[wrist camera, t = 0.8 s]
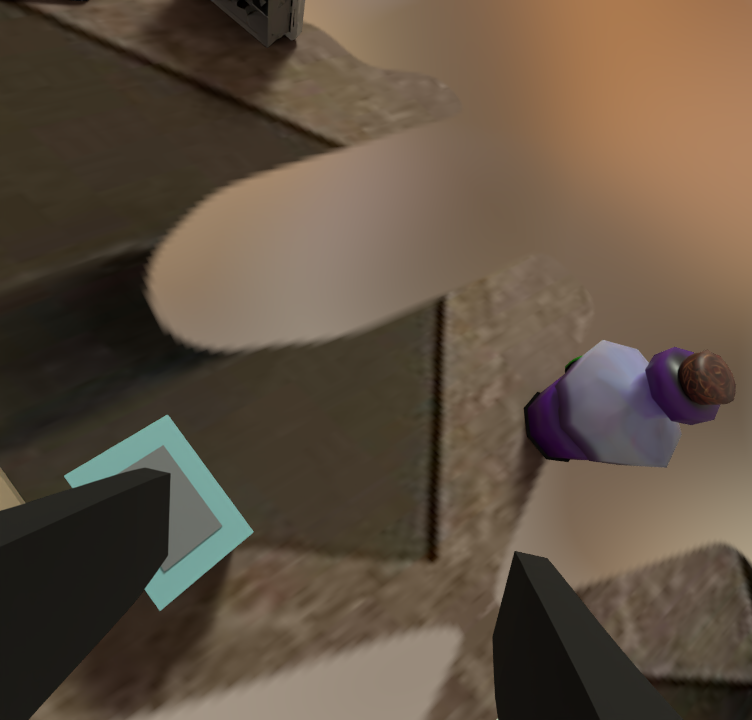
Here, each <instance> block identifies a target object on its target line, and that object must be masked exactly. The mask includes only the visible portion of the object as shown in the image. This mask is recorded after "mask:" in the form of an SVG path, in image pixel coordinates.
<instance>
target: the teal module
mask: <svg viewBox="0 0 752 720" xmlns="http://www.w3.org/2000/svg"><path fill="white" fill-rule="evenodd" d="M144 467H145V468H150V469H154V470H158V471H163V472H167V473H171V480H170V512H169V544H168V557H167V558H166V559H165V561H164V562H163V564H162V565H161V567H160V568H159V570H158V571H157V572H156V574H155V575H154V577H153V578H152V580H151V581H150V582H149V584H148V585H147V586H146V588H145V591H146V592H147V594H148V595H149V596H150V598H151V599H152V601H153V602H154V603H155V605H156V606H157V608H158V609H159V610H160V611H161V610H162V609H163V608H164V607H165V606H167V605H168V604H169V603H170V602H171V601H173V600H174V599H175V598H176V597H177V596H178V595H180V594H181V593H182V592H183V591H184V590H186V589H187V588H188V587H189V586H190V585H192V584H193V583H194V582H195V581H196V580H197V579H199V578H200V577H201V576H202V575H203V574H205V573H206V572H207V571H208V570H209V569H210V568H212V567H213V566H214V565H215V564H216V563H218V562H219V561H220V560H221V559H222V558H223V557H225V556H226V555H227V554H228V553H229V552H231V551H232V550H233V549H234V548H235V547H236V546H238V545H239V544H240V543H241V542H242V541H244V540H245V539H246V538H247V537H248V536H250V535H251V534H252V533H253V530H252V529H251V528H250V526H249V525H248V524H247V522H246V521H245V520H244V518H243V517H242V515H241V514H240V513H239V511H238V510H237V509H236V507H235V506H234V505H233V503H232V502H231V500H230V499H229V498H228V496H227V495H226V494H225V492H224V491H223V489H222V488H221V487H220V485H219V484H218V483H217V481H216V480H215V479H214V477H213V476H212V474H211V473H210V472H209V470H208V469H207V468H206V466H205V465H204V464H203V462H202V461H201V459H200V458H199V457H198V455H197V454H196V453H195V451H194V450H193V449H192V447H191V446H190V444H189V443H188V442H187V440H186V439H185V438H184V436H183V435H182V433H181V432H180V431H179V429H178V428H177V427H176V425H175V424H174V423H173V421H172V420H171V418H170V417H169V416H168V415H166V416H164V417H163V418H161V419H159V420H158V421H156V422H154V423H152V424H151V425H149V426H147V427H146V428H144V429H142V430H141V431H139V432H137V433H136V434H134V435H132V436H131V437H129V438H127V439H125V440H124V441H122V442H120V443H119V444H117V445H115V446H114V447H112V448H110V449H109V450H107V451H105V452H104V453H102V454H100V455H98V456H97V457H95V458H93V459H92V460H90V461H88V462H87V463H85V464H83V465H82V466H80V467H78V468H77V469H75V470H73V471H71V472H70V473H68V474H66V475H65V476H64V477H65V478H66V480H67V481H68V482H69V484H70V485H71V487H72V488H75V487H78V486H81V485H84V484H88V483H91V482H94V481H97V480H100V479H103V478H107V477H110V476H113V475H117V474H120V473H124V472H127V471H131V470H135V469H140V468H144Z"/></svg>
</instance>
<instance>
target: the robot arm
mask: <svg viewBox="0 0 752 720" xmlns="http://www.w3.org/2000/svg"><path fill="white" fill-rule="evenodd" d="M170 480H171V473H167V472H163V471H158V470H154V469H150V468H145V467H144V468H140V469H135V470H131V471H127V472H124V473H120V474H117V475H113V476H110V477H107V478H103V479H100V480H97V481H94V482H91V483H88V484H84V485H81V486H78V487H75V488H72V489H69V490H66V491H62V492H59V493H56V494H53V495H50V496H47V497H44V498H40V499H37V500H34V501H31V502H28V503H25V504H21V505H18V506H15V507H11V508H8V509H4V510H1V511H0V720H29V719H30V717H31V716H32V715H33V714H34V713H35V712H36V711H37V710H38V709H39V707H40V706H41V705H42V704H43V703H44V702H45V701H46V700H47V699H48V698H49V696H50V695H51V694H52V693H53V692H54V691H55V690H56V689H57V688H58V687H59V685H60V684H61V683H62V682H63V681H64V680H65V679H66V678H67V677H68V676H69V674H70V673H71V672H72V671H73V670H74V669H75V668H76V667H77V666H78V665H79V664H80V662H81V661H82V660H83V659H84V658H85V657H86V656H87V655H88V654H89V653H90V651H91V650H92V649H93V648H94V647H95V646H96V645H97V644H98V643H99V642H100V640H101V639H102V638H103V637H104V636H105V635H106V634H107V633H108V632H109V630H110V629H111V628H112V627H113V626H114V625H115V624H116V623H117V622H118V620H119V619H120V618H121V617H122V616H123V615H124V614H125V613H126V612H127V610H128V609H129V608H130V607H131V606H132V605H133V604H134V602H135V601H136V600H137V599H138V597H139V596H140V595H141V593H142V592H143V591H144V589H145V588H146V586H147V585H148V584H149V582H150V581H151V580H152V578H153V577H154V575H155V574H156V572H157V571H158V570H159V568H160V567H161V565H162V564H163V562H164V561H165V559H166V558H167V557H168V544H169V512H170ZM493 665H494V685H495V700H496V707H497V714H498V720H683V719H682V718H681V717H680V716H679V714H678V713H677V712H676V711H675V710H674V709H673V708H672V707H671V706H670V705H669V703H668V702H667V701H666V700H665V699H664V698H663V697H662V696H661V695H660V694H659V692H658V691H657V690H656V689H655V688H654V687H653V686H652V685H651V683H650V682H649V681H648V680H647V679H646V678H645V677H644V675H643V674H642V673H641V672H640V671H639V670H638V668H637V667H636V666H635V665H634V664H633V663H632V662H631V660H630V659H629V658H628V657H627V656H626V654H625V653H624V652H623V651H622V650H621V649H620V647H619V646H618V645H617V644H616V642H615V641H614V640H613V639H612V638H611V636H610V635H609V634H608V633H607V632H606V630H605V629H604V628H603V627H602V625H601V624H600V623H599V622H598V621H597V619H596V618H595V617H594V616H593V614H592V613H591V612H590V611H589V609H588V608H587V607H586V606H585V604H584V603H583V602H582V601H581V599H580V598H579V597H578V596H577V594H576V593H575V592H574V590H573V589H572V588H571V587H570V585H569V584H568V583H567V582H566V581H565V579H564V578H563V577H562V575H561V574H560V573H559V572H558V571H557V569H556V568H555V567H554V566H553V564H552V563H551V562H550V561H549V560H548V559H547V558H544V557H539V556H535V555H531V554H526V553H522V552H517V551H515V552H514V556H513V560H512V563H511V567H510V571H509V575H508V579H507V583H506V587H505V591H504V595H503V598H502V602H501V606H500V610H499V614H498V618H497V622H496V626H495V629H494V633H493Z"/></svg>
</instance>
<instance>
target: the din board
mask: <svg viewBox="0 0 752 720" xmlns="http://www.w3.org/2000/svg"><path fill="white" fill-rule="evenodd" d="M21 504H25V502H24V500H23V499H22V498H21V496H20V495H19V493H18V492H17V490H16V489H15V488H14V486H13V485H12V483H11V482H10V480H9V479H8V478H7V476H6V475H5V473H4V472H3V470H2V469H1V468H0V511H1V510H4V509H8V508H11V507H15V506H18V505H21Z"/></svg>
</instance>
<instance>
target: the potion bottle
mask: <svg viewBox="0 0 752 720" xmlns="http://www.w3.org/2000/svg"><path fill="white" fill-rule="evenodd" d="M735 388H736V384H735V381H734V377H733V374H732V372H731V370H730V369H729V367H728V366H727V364H726V363H725V362H724V360H723V359H722V358H721V357H720V356H719V355H716V354H714V353H712V352H710V351H709V350H705V351H702V352H699V353H694V352H690V351H687V350H683V349H680V348H677V347H674V348H671V349H668V350H666V351H663V352H661V353H658V354H656V355H654V356H653V358H652V359H651V361H650V363H648V361H647V360H646V359H645V358H644V357H643V355H642V354H641V353H640V352H639V351H638V349H634V348H630V347H627V346H623V345H619V344H616V343H612V342H608V341H605V340H602V341H601V342H599V343H598V344H597V345H596V346H594V347H593V348H592V349H591V350H589V351H588V352H587V353H586V354H584V355H583V356H580V357H577V358H575V359H573V360H572V361H570V362H569V363H568V364H567V365H566V366H565V374H564V375H563V376H562V377H560V378H559V379H558V380H557V381H555V382H554V383H553V384H552V385H550V386H549V387H548V388H546V389H545V390H544V391H543V392H541V393H539V392H537V393H536V394H535V395H534V397H533V398H532V399H531V400H530V401H529V403H528V404H527V405H526V406H525V407H524V413H525V421H526V430H527V436H528V438H529V439H530V440H531V441H532V443H533V444H534V445H535V446H536V447H537V449H538V450H539V451H540V452H541V454H542V455H543V456H544V457H545V458H546V459H549V460H556V461H564V462H569V460H570V459H575V460H589V461H594V462H602V463H609V464H616V465H630V466H649V467H667V465H668V463H669V461H670V459H671V457H672V454H673V452H674V450H675V448H676V446H677V444H678V441H679V439H680V437H681V435H682V434H681V431H680V427H679V423H683V424H688V425H694V424H698V423H702V422H707V421H711V420H714V419H715V416H716V414H717V411H718V409H719V406H720V404H727V403H730V402H731V401H733V400H734V396H735Z"/></svg>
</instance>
